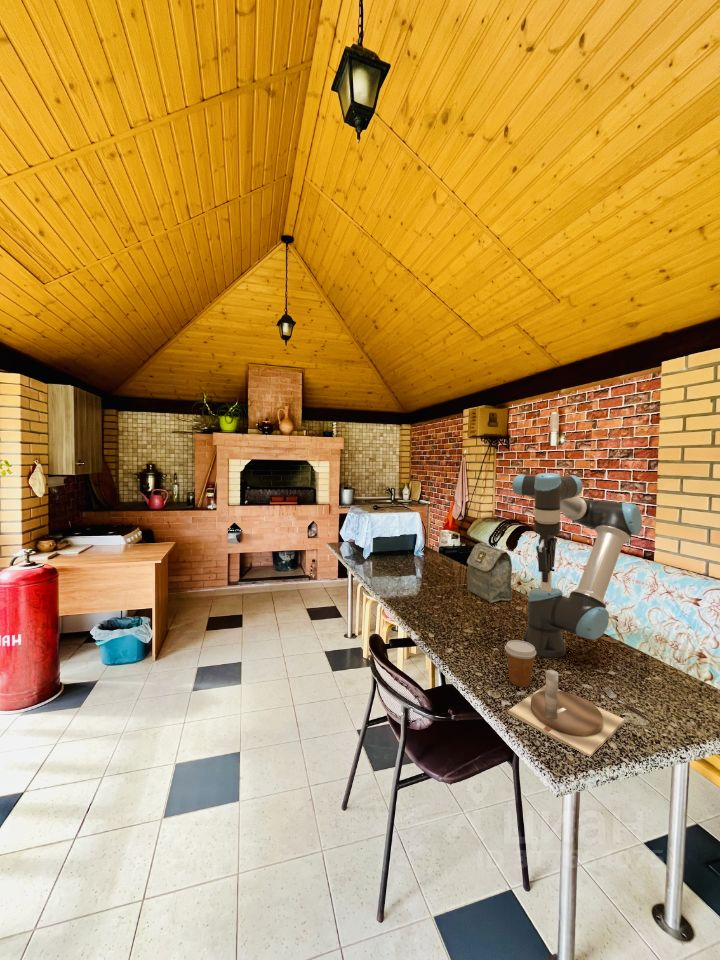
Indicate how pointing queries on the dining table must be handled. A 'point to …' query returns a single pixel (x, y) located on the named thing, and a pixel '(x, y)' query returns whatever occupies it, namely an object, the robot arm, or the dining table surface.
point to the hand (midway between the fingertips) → (546, 590)
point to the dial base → (577, 742)
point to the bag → (489, 573)
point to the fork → (626, 705)
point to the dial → (565, 709)
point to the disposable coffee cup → (520, 662)
